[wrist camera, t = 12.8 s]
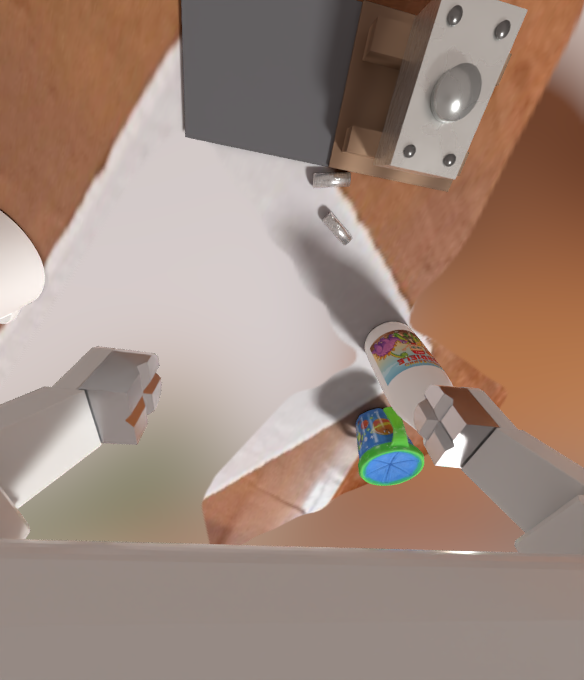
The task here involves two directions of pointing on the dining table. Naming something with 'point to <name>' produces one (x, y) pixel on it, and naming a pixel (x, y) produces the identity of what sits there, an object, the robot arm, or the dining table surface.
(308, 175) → the dining table surface
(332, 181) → the pin
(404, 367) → the milk bottle
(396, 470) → the snack cup
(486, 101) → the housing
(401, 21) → the stand
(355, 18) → the bench mat
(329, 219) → the pin
